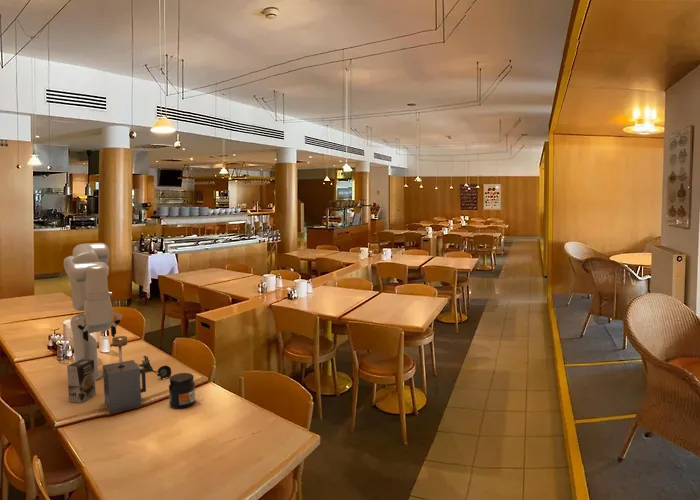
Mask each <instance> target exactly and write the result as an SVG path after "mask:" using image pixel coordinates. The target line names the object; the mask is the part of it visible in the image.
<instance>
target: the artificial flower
mask: <svg viewBox="0 0 700 500" xmlns="http://www.w3.org/2000/svg"><path fill="white" fill-rule="evenodd" d="M142 358H143V360H141V361H142V362H141V363H137V362H135V363H136V364H137V365H138V367H139V368H140V369H143V368H144V369H145V370H147V371H150V372H153V373H157V377H159V379H160V380H162V379H163V378H166V377H169V378H170V377H171V376H172V367H170V366H169V365H162V366H159V368H158V369H157V370H154V369H153V367H152V365H151V363H150V361H151V359H149V357H148V356H147V355H144V356H143V357H142Z"/></svg>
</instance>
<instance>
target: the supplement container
mask: <svg viewBox="0 0 700 500" xmlns="http://www.w3.org/2000/svg"><path fill="white" fill-rule="evenodd" d="M195 387H196V383H195V381H194V375H193V374H192V373H190V372H189V373H187V372H180V373H176V374H173V375H171V376H170V377H169V385H168V391H169V392H168V396H169V397H168V398H169V401H168V402H169V405H170V407H172V408H174V409H186V408H190V407H192V406H193V405H194V404H195V402H196V390H195Z"/></svg>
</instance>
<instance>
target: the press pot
mask: <svg viewBox="0 0 700 500" xmlns="http://www.w3.org/2000/svg"><path fill="white" fill-rule="evenodd" d="M122 363H123V367H122V368H120V366H119V362H114V363H108V364H103V365H102V377H103V378H102V379H103V389H104V391H103V392H104V404H106V405H105V407H106V406H107V407H106V409H107V408H108V409H107V410H109V411H108V413H109V414H110V415H112V414H116V413H119V412H123V411H124V412H125V411H128V410H133V409H137V408H142V394H143V393H146V392H147V386H146V385H147V384H146V368H143V369H140V368H141V367H139V366H138V365H137V364H138V363H137V362H136V361H135V360H134V359H132V360H131V359H130V360H126V361H122ZM136 363H137V364H136Z"/></svg>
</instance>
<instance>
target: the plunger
mask: <svg viewBox="0 0 700 500" xmlns="http://www.w3.org/2000/svg"><path fill="white" fill-rule="evenodd" d="M111 339H112V340H111V342H112V343H111V344H112V347H115V348H116V347H117V348H118V363H119V366H120V368H122V367H123V363H122V362H123V347H124V346H125V347H126V346H127V345H128V336H127V335H126V336H125V335H119V336H115V337H112V338H111Z"/></svg>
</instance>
